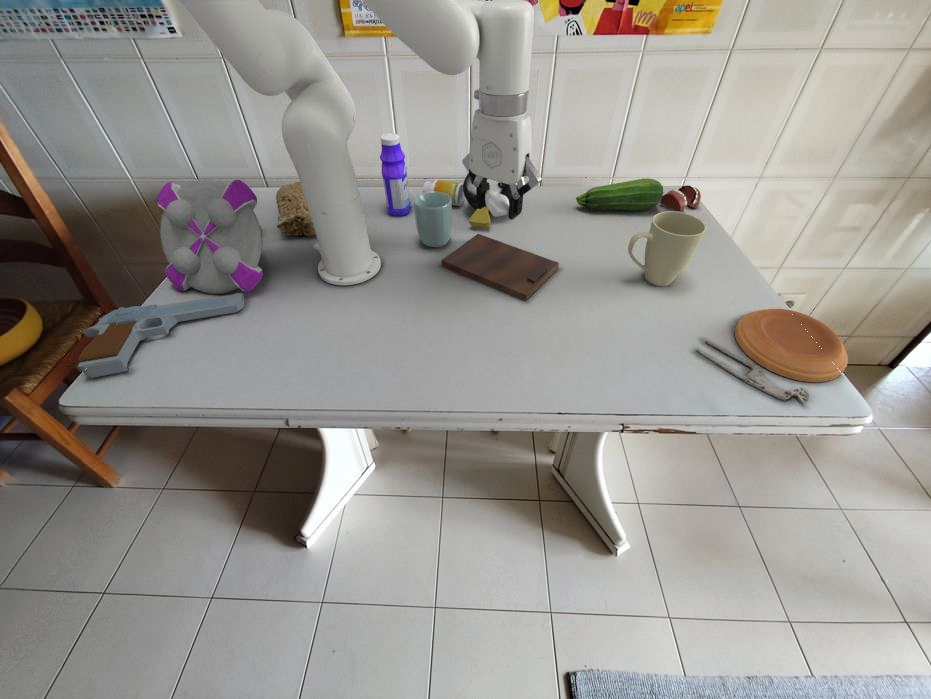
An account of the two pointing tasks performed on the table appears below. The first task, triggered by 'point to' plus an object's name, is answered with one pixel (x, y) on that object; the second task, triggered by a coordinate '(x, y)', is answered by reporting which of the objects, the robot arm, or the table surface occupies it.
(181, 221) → the toy
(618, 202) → the vegetable
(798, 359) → the saucer
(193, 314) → the handgun
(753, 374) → the nutcracker
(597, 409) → the table surface
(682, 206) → the dentures
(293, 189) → the sponge
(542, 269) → the bread board
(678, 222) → the mug
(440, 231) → the cup
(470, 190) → the alarm clock
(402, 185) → the bottle
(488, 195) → the dumpling
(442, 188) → the supplement bottle
